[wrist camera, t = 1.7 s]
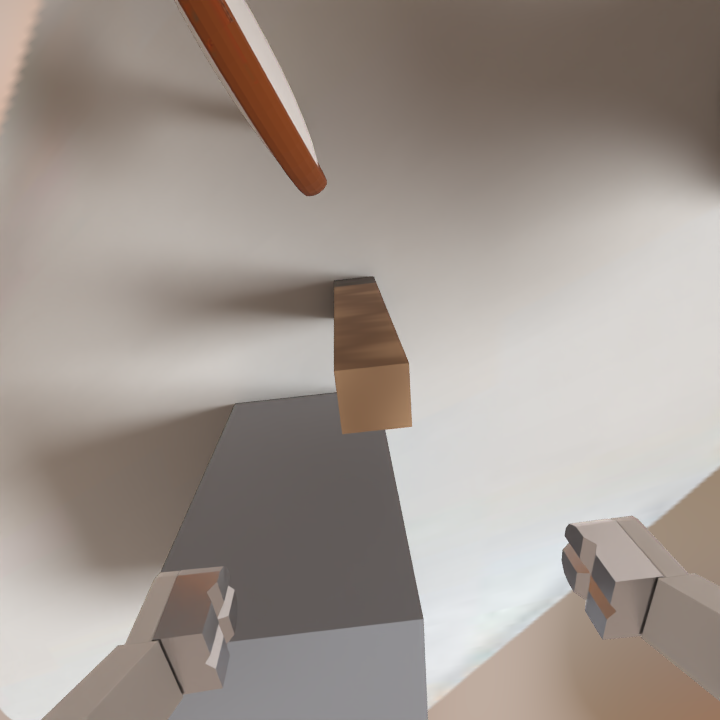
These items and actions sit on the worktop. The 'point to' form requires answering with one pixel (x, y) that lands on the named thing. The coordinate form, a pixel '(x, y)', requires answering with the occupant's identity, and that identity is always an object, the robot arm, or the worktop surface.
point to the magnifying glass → (255, 84)
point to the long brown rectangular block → (368, 360)
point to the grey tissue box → (307, 570)
